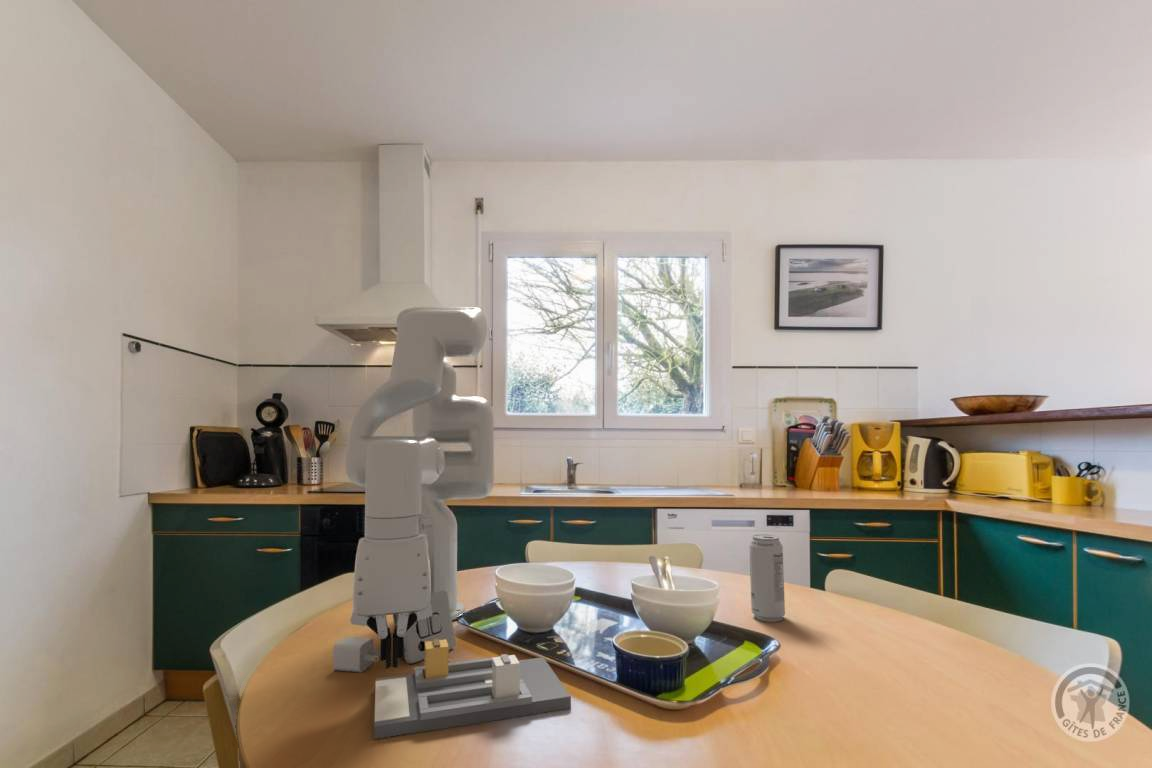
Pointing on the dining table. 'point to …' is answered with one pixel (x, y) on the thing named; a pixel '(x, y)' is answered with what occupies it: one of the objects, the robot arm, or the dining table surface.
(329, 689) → the dining table surface
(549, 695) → the switch board
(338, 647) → the usb wall charger
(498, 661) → the white tab
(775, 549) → the energy drink can
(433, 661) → the yellow block with tab
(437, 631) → the electrical switch
